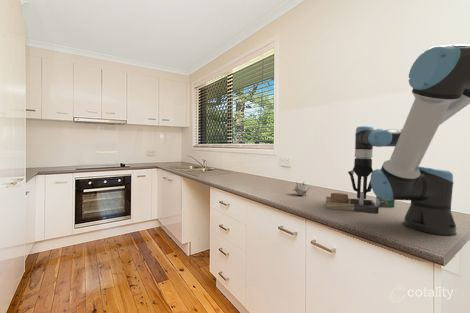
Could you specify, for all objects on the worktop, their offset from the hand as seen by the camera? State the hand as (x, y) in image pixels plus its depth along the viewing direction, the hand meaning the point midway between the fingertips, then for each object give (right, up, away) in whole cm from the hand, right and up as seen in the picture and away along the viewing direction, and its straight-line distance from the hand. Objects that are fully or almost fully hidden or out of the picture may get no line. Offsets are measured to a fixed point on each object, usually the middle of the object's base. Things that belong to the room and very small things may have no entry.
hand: (361, 205), depth 111 cm
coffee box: (+14, -2, +3) cm, 14 cm away
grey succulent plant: (-22, 0, +26) cm, 34 cm away
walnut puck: (-9, -1, +4) cm, 10 cm away
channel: (-5, -1, +2) cm, 5 cm away
